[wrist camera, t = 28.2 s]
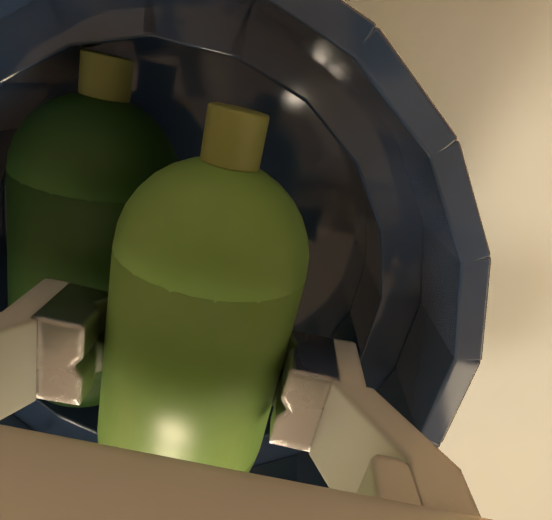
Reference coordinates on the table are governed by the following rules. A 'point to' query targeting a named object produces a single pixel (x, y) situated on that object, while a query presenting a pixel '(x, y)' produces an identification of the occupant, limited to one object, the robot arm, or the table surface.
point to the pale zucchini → (202, 301)
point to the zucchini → (78, 181)
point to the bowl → (294, 177)
